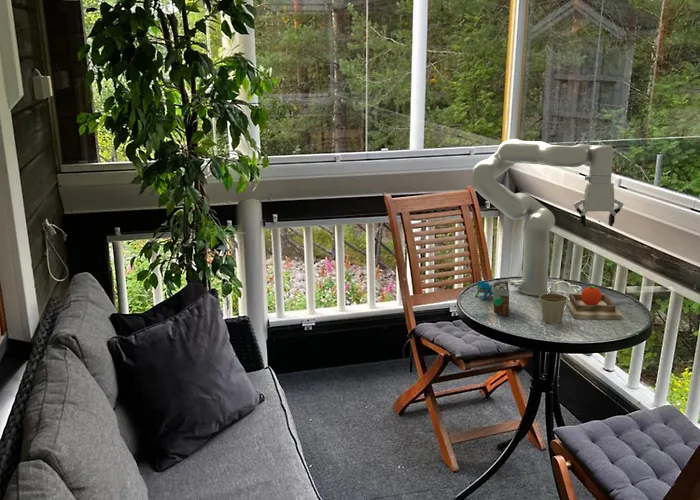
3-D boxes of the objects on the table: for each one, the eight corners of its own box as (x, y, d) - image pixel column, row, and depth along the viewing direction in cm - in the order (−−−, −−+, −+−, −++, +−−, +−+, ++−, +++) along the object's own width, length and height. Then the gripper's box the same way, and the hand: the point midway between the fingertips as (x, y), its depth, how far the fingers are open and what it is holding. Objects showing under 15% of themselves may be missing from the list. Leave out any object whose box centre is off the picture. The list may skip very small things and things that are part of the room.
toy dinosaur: (506, 295, 238) (491, 280, 234) (498, 308, 237) (483, 293, 233) (487, 292, 248) (472, 277, 244) (479, 304, 246) (464, 289, 242)
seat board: (574, 318, 217) (574, 308, 216) (562, 299, 236) (563, 290, 236) (622, 319, 215) (622, 309, 214) (606, 300, 234) (607, 291, 233)
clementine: (585, 300, 231) (586, 281, 229) (604, 303, 226) (605, 285, 225) (577, 306, 225) (578, 287, 223) (596, 309, 220) (598, 290, 219)
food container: (490, 305, 233) (491, 279, 230) (507, 306, 232) (508, 280, 229) (490, 317, 221) (491, 290, 219) (508, 317, 220) (509, 290, 217)
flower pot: (532, 319, 218) (533, 295, 216) (553, 314, 221) (554, 291, 219) (550, 328, 210) (551, 303, 207) (572, 323, 213) (573, 299, 211)
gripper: (577, 181, 223) (574, 228, 227) (628, 180, 221) (624, 227, 225) (573, 178, 230) (570, 223, 235) (622, 177, 228) (618, 223, 232)
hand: (596, 225), depth 230 cm, fingers open, 9 cm apart
